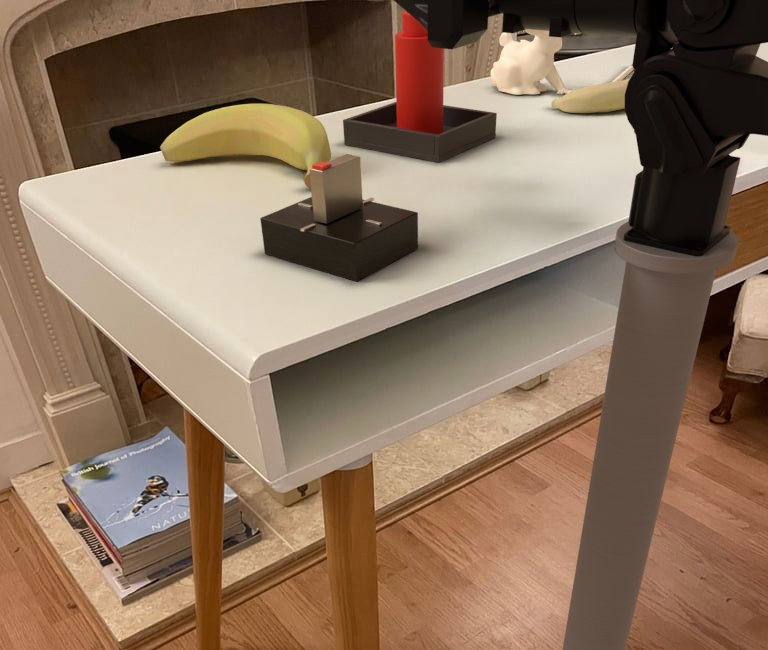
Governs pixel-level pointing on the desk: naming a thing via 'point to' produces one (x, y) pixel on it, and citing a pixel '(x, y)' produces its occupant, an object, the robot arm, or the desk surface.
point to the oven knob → (336, 188)
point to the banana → (252, 136)
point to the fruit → (594, 98)
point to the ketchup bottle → (418, 79)
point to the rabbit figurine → (527, 64)
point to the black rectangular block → (341, 238)
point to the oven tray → (420, 133)
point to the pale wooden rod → (624, 73)
